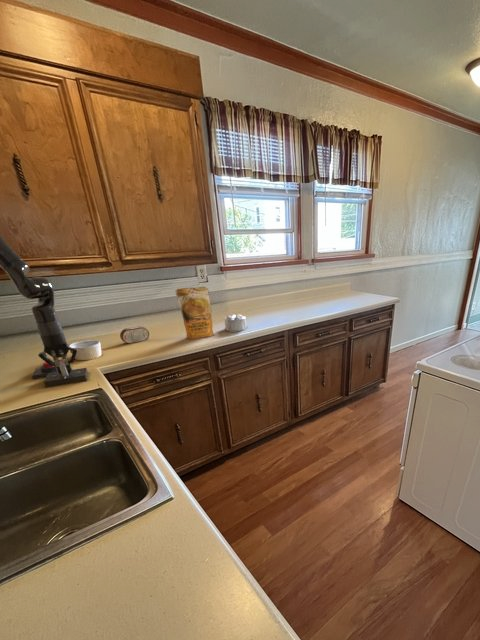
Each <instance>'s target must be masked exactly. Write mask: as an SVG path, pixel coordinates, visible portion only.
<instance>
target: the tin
mask: <svg viewBox="0 0 480 640" xmlns="http://www.w3.org/2000/svg"><path fill="white" fill-rule="evenodd" d="M119 336H120V340H121V341H122V342H123V343H125V344H133V343H138V342H143V341H147V340H148V339H149V338H150V331H149V330H148V328H146V327H145V326H142V325H138V326H132V327H126V328H123V329H122V330H121V332H120V334H119Z"/></svg>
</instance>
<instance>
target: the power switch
mask: <svg viewBox="0 0 480 640" xmlns="http://www.w3.org/2000/svg"><path fill="white" fill-rule="evenodd" d="M53 372H58V370H57V367H56V366H52V367H47V368H46V367H44V365H43V364H42V365H41V366H39V367H38V368H35V370H34V371H33V373H32V375H31V377H32V380H39V379H45V378H46V376H47V374H48V373H53Z"/></svg>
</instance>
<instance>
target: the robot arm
mask: <svg viewBox="0 0 480 640" xmlns="http://www.w3.org/2000/svg"><path fill="white" fill-rule="evenodd" d="M0 268H1V269H3V271H4V272H5V273H6V274H7V275H8V277H9V279H10V281H11V282H12V284H13V285H14V287H15V289H16V291H17V292H18V293H19V295H21V296H22V297H24V298H25V299H28V300H36V299H37V303H36V304H35V305H32V307H31V312H32V315H33V318H34V321H35V324H36V328H37V332H38V334H39V336H40V339H41V342H42V345H43V350H42V351H41V352H39V353H38V357H39V358H40V359H41V360H42V361H44V363H45V362H46V363H48V364H49V365H50V366H56V367H57V370H58V373H59V374H61V375H62V373H61V370H60V367H59V364H60V360H59V358H61V359H62V360H64V362H65V366H66V369H67V372H68V374H70V373H71V371H72V370H73V369H72V367H71V364H73V363H74V362H75V360H76V359H75V356H76V353H77V348H71V347H70V346H69V344H68V342H67V339H66V336H65V333H64V330H63V327H62V325H61V322H60V321H59V318H58V315H57V312H56V308H55V291H54V287H53V285H52V283H51V282H50V280H48V278H45V277H43V276H34V277H27V276H26V275H28V274H29V272H30V266H29V265H28V263H26V261H25V260H24V259H23V258H22V257H21V256H20V255H19V254H18V253H17V251H15V249H13V248H12V247H11V245H10V244H9V243H8V242H7V240H6V239H5V238H4V237H3V235H1V234H0ZM69 351H70V354H71V356H70V358H69V357H68V353H69ZM49 356H50V357H51V358H52V359H51V358H50V357H49Z"/></svg>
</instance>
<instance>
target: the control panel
mask: <svg viewBox="0 0 480 640" xmlns="http://www.w3.org/2000/svg"><path fill="white" fill-rule="evenodd" d="M88 377H89V370H88V368H87V367H80V368H73V369H72V371H71V373H70V374H69V375H68V376H65V377H63V376H62V375H61V374H59V373H58V372H53V373H48V374H47V376H46V378H44V381H43V383H44V385H45V389H46V388H53V387H59V386H65V385H71V384H78V383H83V382H87V381H88Z"/></svg>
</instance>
